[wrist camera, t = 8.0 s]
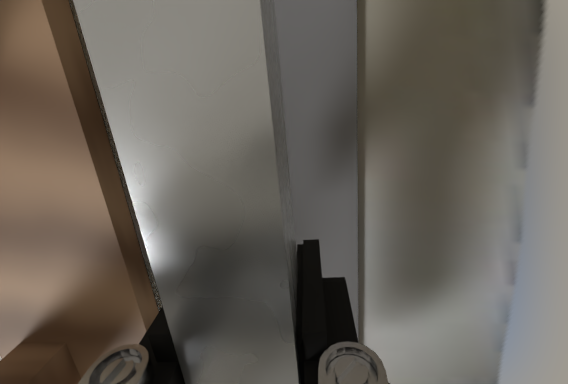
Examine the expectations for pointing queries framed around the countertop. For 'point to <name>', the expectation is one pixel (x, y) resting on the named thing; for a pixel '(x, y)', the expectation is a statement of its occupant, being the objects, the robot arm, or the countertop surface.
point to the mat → (322, 129)
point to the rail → (206, 174)
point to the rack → (60, 209)
